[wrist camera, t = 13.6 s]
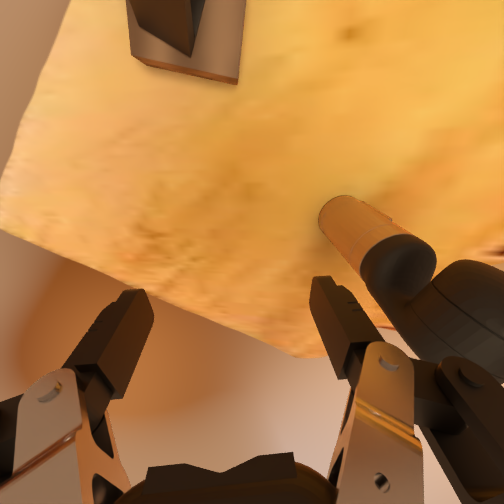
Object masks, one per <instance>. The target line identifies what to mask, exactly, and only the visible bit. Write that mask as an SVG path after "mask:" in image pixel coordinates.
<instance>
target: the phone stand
mask: <svg viewBox="0 0 504 504" xmlns="http://www.w3.org/2000/svg"><path fill="white" fill-rule="evenodd" d="M129 1H130V4H131V7H132V9H133V12H134V15H135V17H136V20H137V23H138V25H139V27H141V28H143V29H144V30H146V31H147V32H149V33H151V34H152V35H154V36H156V37H157V38H159V39H161V40H162V41H164V42H166V43H167V44H169V45H171V46H172V47H174V48H176V49H177V50H179V51H181V52H182V53H184V54H186V55H187V56H189V57H191V55H192V52H193V48H194V44H195V40H196V36H197V32H198V28H199V24H200V20H201V16H202V10H203V8H204V4H205V0H129Z"/></svg>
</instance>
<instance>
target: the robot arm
mask: <svg viewBox="0 0 504 504" xmlns="http://www.w3.org/2000/svg"><path fill="white" fill-rule="evenodd" d="M319 226H320V228H321V230H322V231H323V232H324V234H325V235H326V236H327V237H328V239H329V240H330V241H331V242H332V244H333V245H334V246H335V247H336V248H337V250H338V251H339V252H340V253H341V254H342V256H343V257H344V258H345V259H346V260H347V262H348V263H349V264H350V265H351V266H352V268H353V269H354V270H355V271H356V272H357V274H358V275H359V276H360V277H361V278H362V280H363V281H364V282H365V283H366V287H367V289H368V291H369V292H370V294H371V295H372V296H373V298H374V299H375V300H376V302H377V303H378V305H379V306H380V307H381V309H382V310H383V312H384V313H385V314H386V316H387V317H388V319H389V320H390V322H391V323H392V324H393V326H394V327H395V329H396V330H397V332H398V333H399V334H400V336H401V337H402V338H403V340H404V341H405V342H406V343H407V345H408V346H409V347H410V348H411V349H412V351H413V352H414V353H415V354H416V355H417V356H418V357H419V358H420V360H417V359H413V358H410V357H408V356H407V355H406V354H405V353H404V352H403V351H402V350H401V349H399V348H398V347H396V346H394V345H392V344H390V343H387V342H385V340H384V339H383V337H382V336H381V335H380V333H379V332H378V330H377V329H376V327H375V326H374V324H373V323H372V321H371V320H370V319H369V317H368V316H367V314H366V313H365V311H363V308H362V307H361V305H360V304H359V303H358V301H357V300H356V298H355V297H354V295H353V294H352V292H350V291H349V290H348V289H346V288H345V287H344V286H342V285H341V286H337V285H336V284H335V282H334V280H333V279H332V277H331V276H316V277H313V279H312V285H311V292H310V299H309V305H310V310H311V314H312V316H313V319H314V321H315V324H316V326H317V328H318V331H319V333H320V336H321V338H322V341H323V343H324V346H325V348H326V351H327V353H328V356H329V358H330V361H331V363H332V366H333V368H334V371H335V373H336V376H337V378H338V380H339V379H348V381H349V384H350V386H351V388H350V391H349V395H348V399H347V403H346V408H345V412H344V416H343V420H342V424H341V428H340V432H339V436H338V440H337V443H336V446H335V449H334V453H333V456H332V460H331V463H330V468H329V471H328V476H327V479H326V478H325V477H323V476H322V475H321V474H319V473H318V472H317V471H315V470H313V469H312V468H310V467H308V466H305V465H303V464H301V463H298V462H295V461H294V456H293V452H288V453H279V454H269V455H260V456H257V457H254V458H252V459H250V460H248V461H246V462H244V463H242V464H240V465H238V466H236V467H233V468H231V469H229V470H227V471H225V472H222V473H218V472H214V471H210V470H207V469H203V468H200V467H196V466H192V465H189V464H175V465H166V466H156V467H148V471H147V475H146V479H145V480H143V481H142V482H140V483H138V484H137V485H135V486H134V487H132V488H131V484H130V481H129V479H128V476H127V474H126V472H125V470H124V468H123V466H122V464H121V461H120V459H119V455H118V451H117V447H116V443H115V438H114V434H113V430H112V426H111V422H110V418H109V413H108V411H107V409H106V408H107V406H108V404H109V402H110V400H113V399H122V398H123V397H124V394H125V392H126V389H127V387H128V384H129V382H130V379H131V377H132V374H133V372H134V370H135V367H136V365H137V362H138V360H139V357H140V355H141V352H142V350H143V347H144V345H145V343H146V340H147V338H148V335H149V333H150V330H151V328H152V325H153V322H154V313H153V310H152V307H151V304H150V302H149V300H148V297H147V294H146V292H145V290H144V289H130V290H124V291H123V292H122V294H121V295H120V296H119V298H118V299H117V301H116V302H112V303H111V304H110V305H108V306H107V307H106V308H105V309H104V310H102V312H101V313H100V314H99V316H98V317H97V318H96V320H95V322H94V323H93V324H92V325H91V327H90V328H89V330H88V332H86V334H85V335H84V337H83V338H82V340H81V341H80V342H79V344H78V345H77V346H76V348H75V349H74V351H73V352H72V354H71V355H70V356H69V358H68V359H67V361H66V362H65V363H64V365H63V366H62V368H61V369H58V370H55V371H52V372H50V373H48V374H46V375H45V376H43V377H42V378H40V379H39V380H37V381H36V382H35V383H34V384H33V385H32V386H31V387H30V388H29V389H28V390H27V391H26V392H25V393H24V394H21V395H19V396H16V397H13V398H10V399H8V400H5V401H2V402H0V504H424V485H423V484H424V483H423V482H424V481H423V450H422V445H421V442H420V440H419V439H418V438H417V437H415V434H414V424H416V425H418V426H419V427H420V429H421V431H422V433H423V435H424V437H425V438H426V440H427V442H428V444H429V446H430V447H431V449H432V451H433V453H434V455H435V457H436V458H437V460H438V462H439V464H440V465H441V467H442V469H443V471H444V473H445V475H446V476H447V478H448V480H449V482H450V483H451V485H452V487H453V489H454V491H455V493H456V494H457V496H458V498H459V500H460V502H461V503H462V504H504V388H503V387H502V386H501V384H503V383H504V272H503V271H501V270H499V269H497V268H495V267H493V266H490V265H488V264H485V263H482V262H478V261H474V260H466V259H465V260H458V261H455V262H453V263H452V264H450V265H449V266H447V267H446V268H445V269H444V270H442V271H441V272H440V273H439V274H438V275H437V276H436V277H435V278H434V279H433V280H432V281H431V279H432V276H433V274H434V271H435V268H436V263H437V259H436V254H435V252H434V250H433V249H432V248H431V246H430V245H428V244H427V243H426V242H424V241H423V240H421V239H419V238H418V237H416V236H414V235H413V234H411V233H409V232H408V231H406V230H405V229H403V228H401V227H400V226H398V225H397V224H395V223H393V222H392V219H391V218H390V217H388V216H386V215H385V214H383V213H381V212H380V211H378V210H377V209H375V208H373V207H372V206H370V205H368V204H367V203H365V202H363V201H358V200H357V199H355V198H353V197H351V196H339V197H336V198H334V199H332V200H331V201H329V202H328V203H327V204H326V205H325V206H324V207H323V209H322V210H321V212H320V215H319ZM430 281H431V282H430Z"/></svg>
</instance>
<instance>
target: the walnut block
mask: <svg viewBox="0 0 504 504" xmlns="http://www.w3.org/2000/svg"><path fill="white" fill-rule="evenodd" d="M126 7H127V17H128V28H129V38H130V48H131V55H132V56H133V57H135V58H136V59H138V60H140V61H141V62H143V63H144V64H146V65H147V66H152V67H156V68H161V69H166V70H170V71H175V72H179V73H184V74H188V75H193V76H197V77H202V78H207V79H211V80H216V81H220V82H225V83H229V84H234V85H237V83H238V76H239V66H240V56H241V46H242V36H243V27H244V17H245V7H246V0H205V4H204V8H203V10H202V16H201V20H200V24H199V28H198V32H197V36H196V40H195V44H194V48H193V52H192V55H191V57H189V56H187V55H186V54H184V53H182V52H181V51H179V50H177V49H176V48H174V47H172V46H171V45H169V44H167V43H166V42H164V41H162V40H161V39H159V38H157V37H156V36H154V35H152V34H151V33H149V32H147V31H146V30H144V29H143V28H141V27H139V25H138V23H137V20H136V17H135V15H134V12H133V9H132V7H131V4H130V1H129V0H126Z"/></svg>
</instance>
